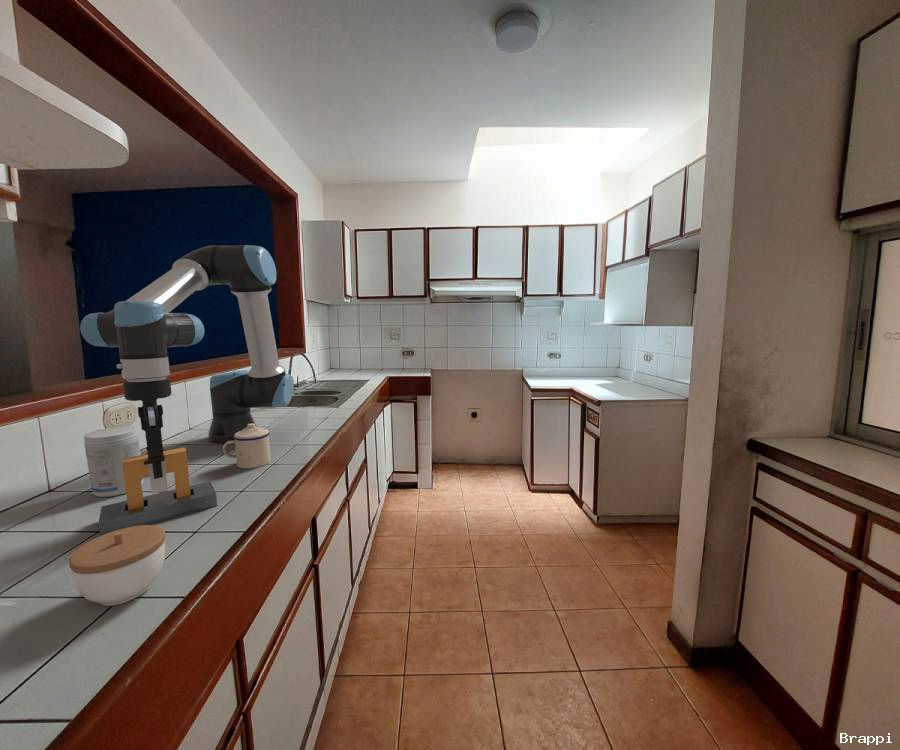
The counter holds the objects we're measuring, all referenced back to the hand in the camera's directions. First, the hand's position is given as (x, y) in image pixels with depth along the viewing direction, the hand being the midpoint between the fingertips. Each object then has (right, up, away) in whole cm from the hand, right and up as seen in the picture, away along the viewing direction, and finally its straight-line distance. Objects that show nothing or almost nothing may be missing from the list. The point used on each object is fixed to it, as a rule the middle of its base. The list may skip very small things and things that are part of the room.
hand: (159, 488), depth 79 cm
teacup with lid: (+4, -2, +28) cm, 29 cm away
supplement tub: (-19, -4, +12) cm, 23 cm away
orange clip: (0, -3, 0) cm, 4 cm away
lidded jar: (+12, -9, -22) cm, 27 cm away
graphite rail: (0, -5, +1) cm, 6 cm away
